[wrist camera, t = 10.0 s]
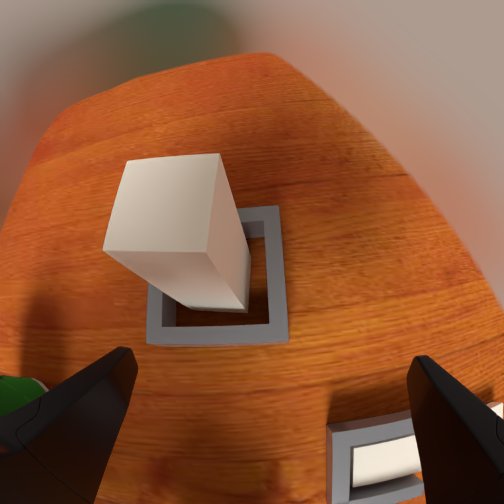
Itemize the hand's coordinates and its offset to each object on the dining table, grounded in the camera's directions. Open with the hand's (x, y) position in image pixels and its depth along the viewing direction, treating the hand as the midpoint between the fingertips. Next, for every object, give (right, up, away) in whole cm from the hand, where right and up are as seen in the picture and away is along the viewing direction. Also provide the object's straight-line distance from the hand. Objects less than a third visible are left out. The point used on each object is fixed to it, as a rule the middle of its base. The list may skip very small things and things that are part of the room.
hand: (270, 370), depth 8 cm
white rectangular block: (-3, +1, +15) cm, 16 cm away
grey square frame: (-3, +1, +15) cm, 16 cm away
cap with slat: (+13, -12, +9) cm, 20 cm away
